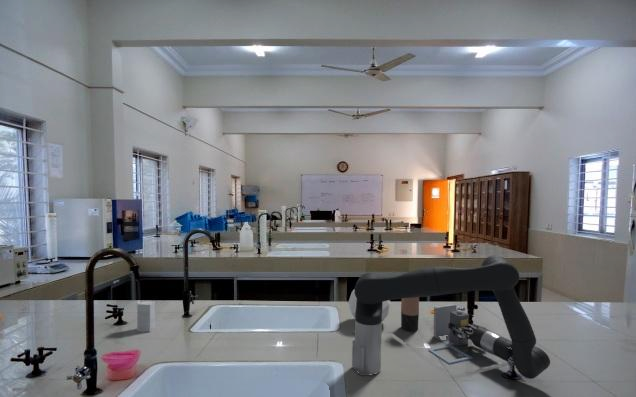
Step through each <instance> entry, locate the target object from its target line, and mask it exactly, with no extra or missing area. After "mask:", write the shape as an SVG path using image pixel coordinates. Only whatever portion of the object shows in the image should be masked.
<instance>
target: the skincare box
mask: <svg viewBox="0 0 636 397" xmlns="http://www.w3.org/2000/svg"><path fill="white" fill-rule="evenodd" d="M136 308H137V309H136V311H137V312H136V313H137V316H136V317H137V318H136V319H137V321H136V322H137V323H136V325H137V326H136V328H137V332H145V333H146V332H147V333H151V332H152V331H153V330H155V329H156V301H143V300H142V301H141V302H139V303H137V305H136Z"/></svg>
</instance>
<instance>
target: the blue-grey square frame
mask: <svg viewBox="0 0 636 397" xmlns="http://www.w3.org/2000/svg"><path fill="white" fill-rule="evenodd" d="M449 348H450V349H452V350H454V351H455V352H457V353H459V354H461V355H462V356H464V357H462V358H457V359H453V360H452V359H451V360H449V359H447V358H446V357H444V356H442V355H441V354H440V353H438V352H436V351H441V350H445V349H449ZM427 351H428V352H430V353H431V354H433V355H434V356H435V357H438V358H439V359H441V360H442V361H444V362H445V363H447V364H448V365H452V364H456V363H462V362H464V361H471V360H473V357H472V356H471V355H470V354H467V353H465V352H464V351H462V350H461V349H458V348H457V347H455V346H454V345H448V344H446V345H443V346H437V347H432V348H428V349H427Z"/></svg>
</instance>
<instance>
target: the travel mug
mask: <svg viewBox="0 0 636 397" xmlns="http://www.w3.org/2000/svg"><path fill="white" fill-rule="evenodd" d="M400 300H401V305H400V306H401V309H400V311H401V312H400V321H401V322H400V326H401V327H400V328H401V330H403V331H406V332H409V333H414V332H417V331H419V316H420V297H414V298H401V299H400Z"/></svg>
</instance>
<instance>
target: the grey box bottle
mask: <svg viewBox="0 0 636 397" xmlns="http://www.w3.org/2000/svg"><path fill="white" fill-rule="evenodd" d="M469 320H470V314H469V313H467V312H464V311H463V310H461V309H456V311H453V312H450V323H451V324H453V325H456V326H458V327H465V328H469V327H468V325H469V324H470V323H469V322H470V321H469ZM458 330H459V331H460V329H458ZM463 334H464V329H463ZM468 340H469V339H467V338H465V337H463V338H462V340H460V339H459V338H457V337H456V336H455V335H453V334H452V330H451V329H450V334H449V341H451V342H452V343H454V344H455V345H456V346H458V347H461V346H465V345H469V342H468Z"/></svg>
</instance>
